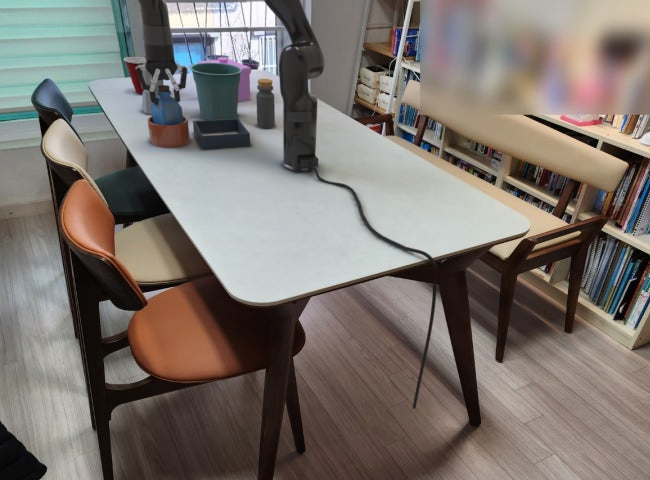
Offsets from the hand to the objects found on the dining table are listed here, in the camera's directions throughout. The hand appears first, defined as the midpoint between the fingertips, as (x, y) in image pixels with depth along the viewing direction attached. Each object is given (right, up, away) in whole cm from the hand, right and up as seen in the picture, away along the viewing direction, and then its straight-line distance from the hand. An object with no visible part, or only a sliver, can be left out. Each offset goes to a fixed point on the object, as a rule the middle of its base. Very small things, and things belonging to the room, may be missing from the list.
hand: (166, 103), depth 154 cm
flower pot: (+8, +4, +28) cm, 30 cm away
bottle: (+24, 0, +25) cm, 35 cm away
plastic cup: (-25, +18, +43) cm, 53 cm away
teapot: (+3, +18, +48) cm, 51 cm away
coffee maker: (-15, +6, +28) cm, 32 cm away
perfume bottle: (-1, -6, +4) cm, 7 cm away
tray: (+13, -8, +11) cm, 19 cm away
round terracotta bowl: (-1, -9, +6) cm, 11 cm away
